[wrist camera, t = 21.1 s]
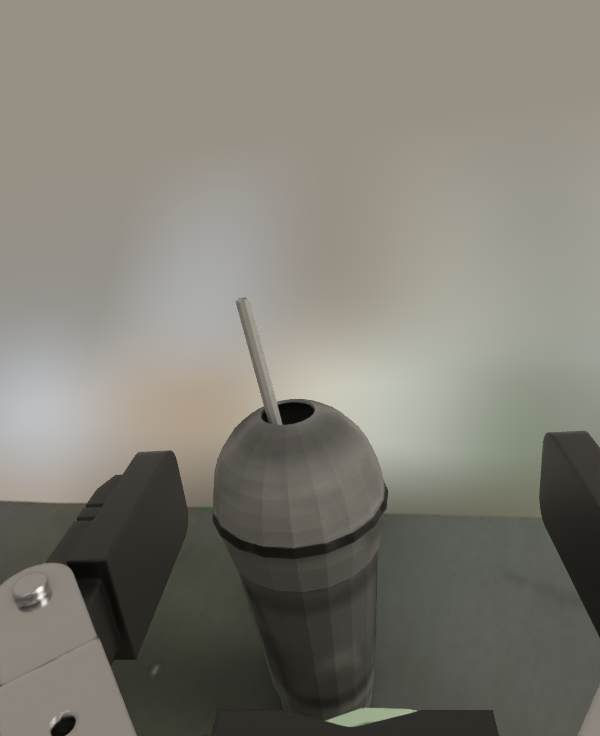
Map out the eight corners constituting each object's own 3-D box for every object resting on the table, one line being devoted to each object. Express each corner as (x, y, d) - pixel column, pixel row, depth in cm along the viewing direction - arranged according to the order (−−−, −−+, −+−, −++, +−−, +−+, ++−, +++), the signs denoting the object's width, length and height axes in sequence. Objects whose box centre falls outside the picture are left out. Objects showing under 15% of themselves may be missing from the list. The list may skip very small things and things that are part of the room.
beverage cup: (383, 791, 23) (340, 334, 16) (226, 742, 26) (125, 331, 18) (414, 647, 29) (394, 269, 22) (285, 619, 32) (228, 274, 24)
